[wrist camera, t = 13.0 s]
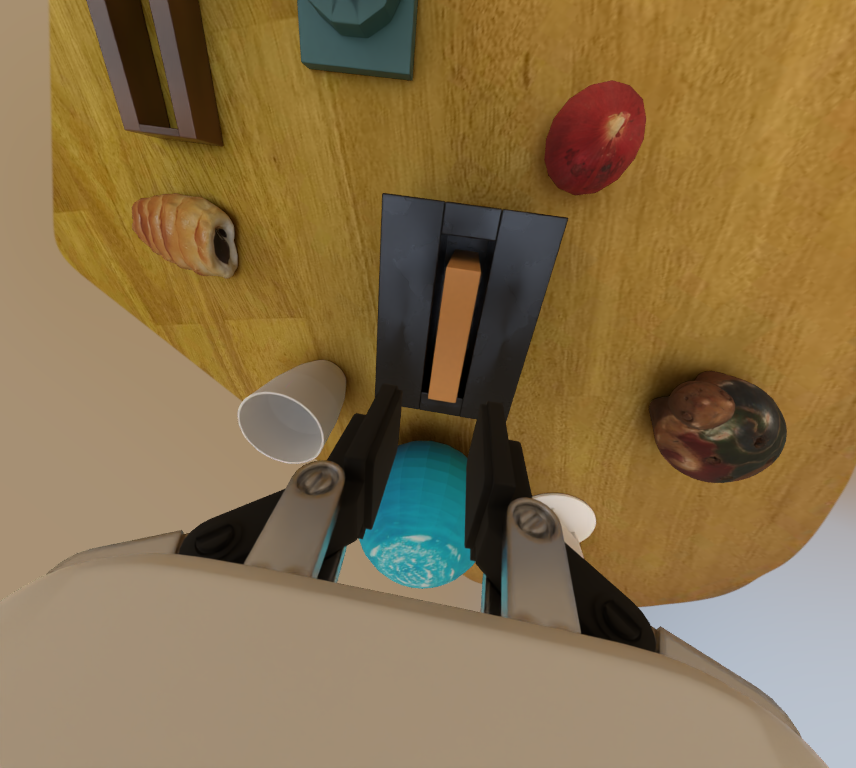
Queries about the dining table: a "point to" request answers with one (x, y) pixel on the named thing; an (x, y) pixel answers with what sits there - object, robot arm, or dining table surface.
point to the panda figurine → (571, 517)
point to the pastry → (187, 233)
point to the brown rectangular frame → (137, 74)
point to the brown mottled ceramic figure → (718, 428)
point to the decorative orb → (421, 518)
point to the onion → (595, 137)
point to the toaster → (494, 307)
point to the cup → (294, 412)
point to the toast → (454, 324)
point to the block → (359, 36)
